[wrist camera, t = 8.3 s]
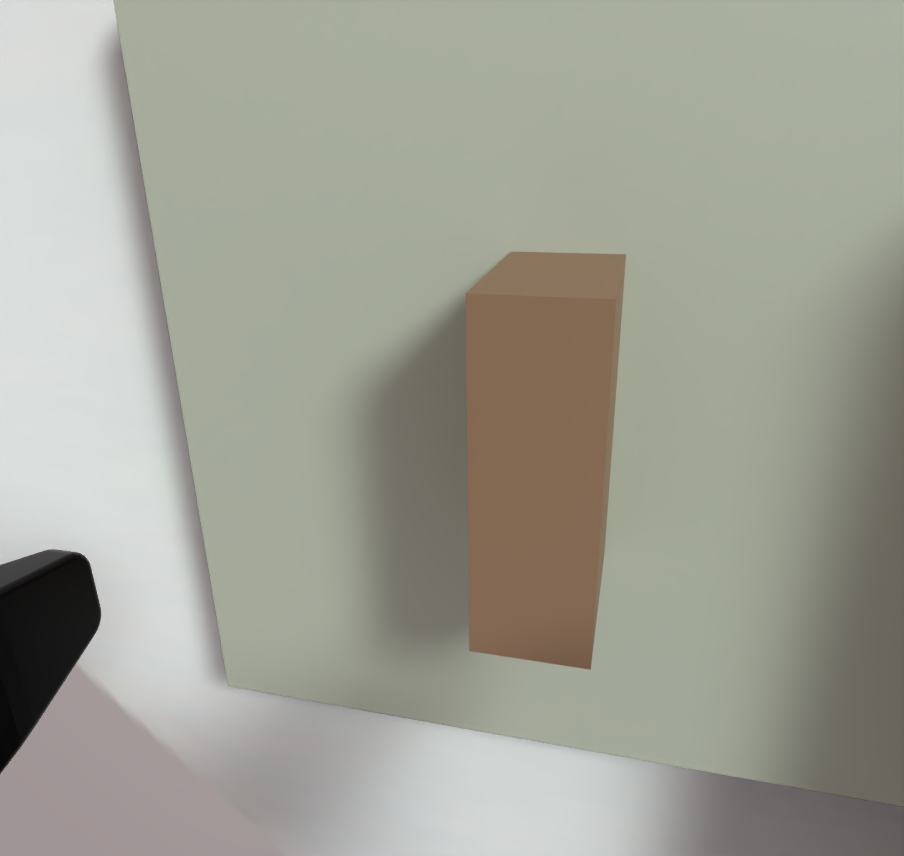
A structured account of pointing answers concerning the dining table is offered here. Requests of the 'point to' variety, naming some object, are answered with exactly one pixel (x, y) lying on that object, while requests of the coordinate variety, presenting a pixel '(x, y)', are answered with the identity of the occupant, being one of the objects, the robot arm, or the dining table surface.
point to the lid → (547, 363)
